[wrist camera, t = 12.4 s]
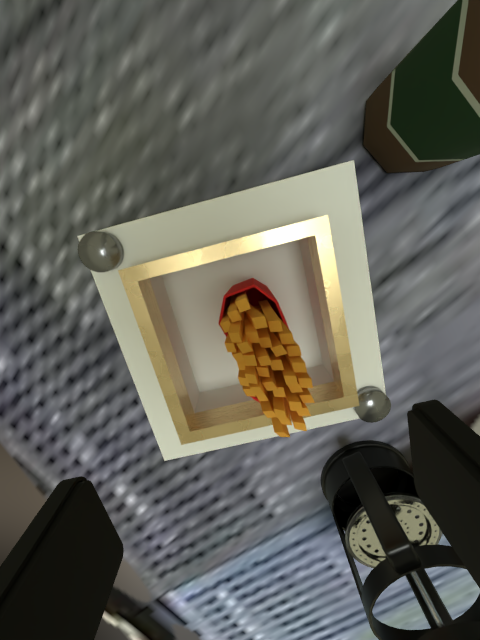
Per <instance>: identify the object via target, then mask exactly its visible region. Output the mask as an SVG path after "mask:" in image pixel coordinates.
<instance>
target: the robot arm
mask: <svg viewBox="0 0 480 640" xmlns="http://www.w3.org/2000/svg"><path fill="white" fill-rule="evenodd" d="M407 416H408V426H409V436H410V445H411V455H412V465H413V474H414V484H415V488H416V491H417V494H418V496H419V498H420V500H421V501H422V503H423V504H424V506H425V507H426V509H427V510H428V512H429V513H430V515H431V516H432V518H433V519H434V521H435V522H436V524H437V525H438V527H439V528H440V530H441V531H442V533H443V534H444V536H445V537H446V539H447V540H448V542H449V543H450V545H451V546H452V548H453V549H454V551H455V552H456V554H457V555H458V556H459V558H460V559H461V561H462V562H463V564H464V565H465V567H466V568H467V570H468V571H469V573H470V574H471V576H472V577H473V579H474V580H475V582H476V583H477V585H478V586H479V588H480V436H479V435H478V434H476V433H475V432H474V431H473V430H472V429H471V428H469V427H468V426H467V425H466V424H465V423H464V422H462V421H461V420H460V419H459V418H458V417H457V416H456V415H454V414H453V413H452V412H451V411H450V410H449V409H447V408H446V407H445V406H444V405H443V404H442V403H440V402H439V401H438V400H430V401H426V402H421V403H417V404H414V405H413V407H412V410H411V411H408V413H407ZM122 558H123V544H122V541H121V540H120V538H119V536H118V534H117V532H116V530H115V528H114V526H113V524H112V522H111V520H110V518H109V516H108V514H107V512H106V510H105V508H104V506H103V504H102V502H101V500H100V498H99V496H98V494H97V492H96V490H95V488H94V486H93V484H92V483H91V481H89V480H87V479H86V478H85V477H76V478H71V479H67V480H63V481H61V482H60V483H59V484H58V485H57V486H56V488H55V489H54V491H53V492H52V494H51V495H50V496H49V498H48V499H47V501H46V502H45V504H44V505H43V506H42V508H41V509H40V511H39V512H38V514H37V515H36V516H35V518H34V519H33V521H32V522H31V524H30V525H29V526H28V528H27V529H26V531H25V532H24V534H23V535H22V536H21V538H20V539H19V541H18V542H17V543H16V545H15V546H14V548H13V549H12V551H11V552H10V554H9V555H8V556H7V558H6V559H5V561H4V562H3V563H2V565H1V566H0V640H94V638H95V635H96V632H97V630H98V627H99V624H100V621H101V618H102V615H103V613H104V610H105V607H106V604H107V601H108V598H109V595H110V593H111V590H112V587H113V584H114V581H115V578H116V575H117V572H118V570H119V567H120V564H121V561H122Z"/></svg>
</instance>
